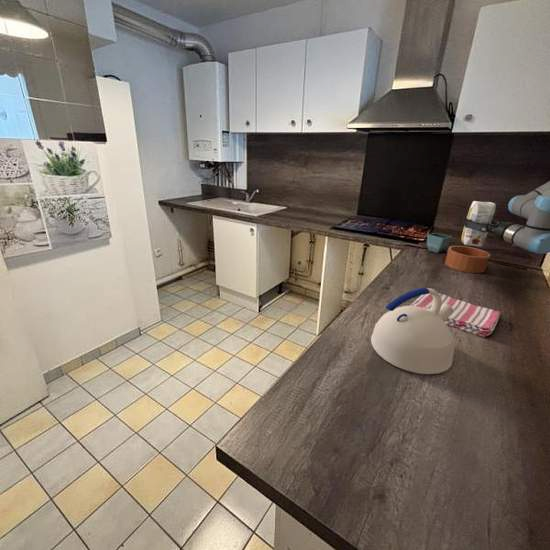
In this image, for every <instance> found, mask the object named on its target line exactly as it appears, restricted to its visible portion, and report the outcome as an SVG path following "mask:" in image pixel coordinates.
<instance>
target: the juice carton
mask: <svg viewBox="0 0 550 550" xmlns="http://www.w3.org/2000/svg"><path fill="white" fill-rule="evenodd" d="M496 206H497V205H496V203H494V202H492V201H479V200H473V201H472V202H471V205H470V206H469V210H468V213H467V216H466V219H469V220H470V219H472V221H473V222H478V223H483V224H487V223H490V224H491V222H492V221H493V218H494V216H495V212H496ZM489 226H490V225H489ZM488 228H489V227H488ZM488 233H489V232H486V233H483V232H481V231H478V230H474V229H470V228H466V227H465V225H464V226H463V230H462V234H461V242H462V244H463V245H464V246H471V247H480V248H481V247H483V245H484V244H485V241H486V239H487V236H488Z"/></svg>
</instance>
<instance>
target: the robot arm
mask: <svg viewBox="0 0 550 550" xmlns="http://www.w3.org/2000/svg"><path fill="white" fill-rule="evenodd" d="M507 208H508V211H509V212H510V213H511V214H513V215H515V216H516V217H521V218H523V219H526V220H527V221H526V224H525V226H524V225H522V224H517V223H514V222H510V221H505V222H504V221H497V220H492V222H491V224H490V223H487V224H483V223H478V222H473V221H472V219H470V220H469V219H467V217H460V218H459V222H458V223H459V224H461V225H462V226H463V225H464V226H465V227H466V228H470V229H474V230H478V231H481V232H483V233H486V232H488V233H490V234H492V235H494V236H495V238H496V239H497V240H498V241H501V242H504V243H507V244H510V245H512V247H518V248H520V249H523V250H525V251H528V252H530V253H531V252H532V253H535V254H539V255H547V254H549V253H550V180H549V181H547V182H545V183H544V184H542V185H540V186H539V187H537V188H536V189H534V190H532V191H530V192H528V193H526V194H521V195H516V196H514V197H512V198H511V199H510V200H509V202H508V205H507ZM489 225H490V226H489ZM488 227H489V228H488Z"/></svg>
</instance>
